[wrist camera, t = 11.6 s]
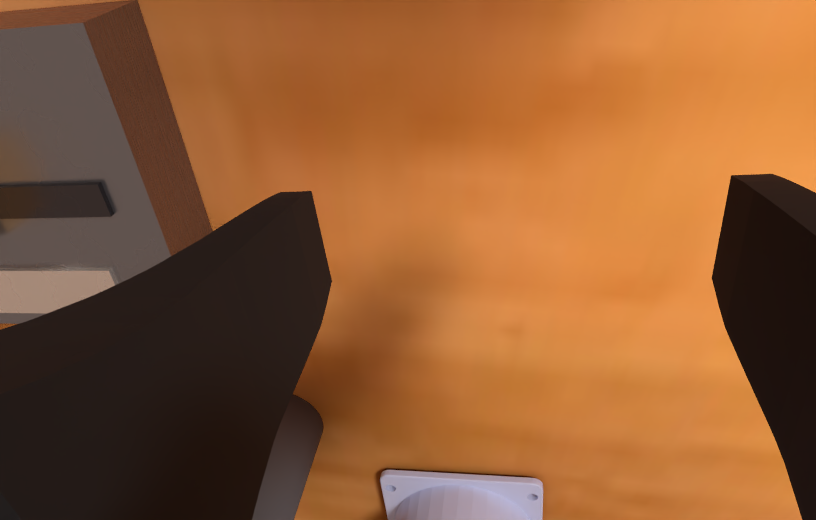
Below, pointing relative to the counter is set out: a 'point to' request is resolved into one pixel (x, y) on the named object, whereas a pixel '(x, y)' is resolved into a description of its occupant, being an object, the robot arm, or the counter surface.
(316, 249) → the robot arm
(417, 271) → the counter surface
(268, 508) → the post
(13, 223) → the panel
